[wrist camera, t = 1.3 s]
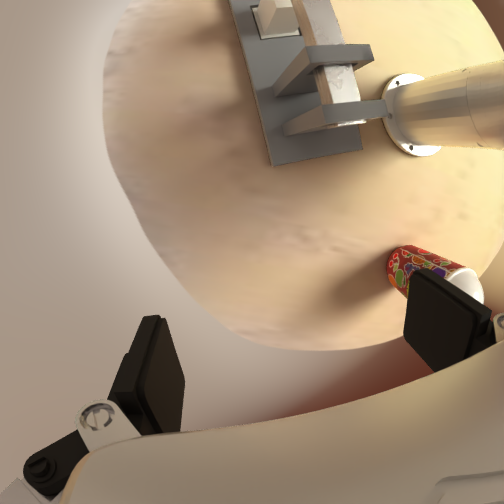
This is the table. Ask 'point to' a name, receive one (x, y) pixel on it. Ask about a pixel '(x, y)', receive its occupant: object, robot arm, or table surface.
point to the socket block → (300, 92)
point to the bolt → (327, 33)
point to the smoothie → (416, 258)
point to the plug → (275, 19)
